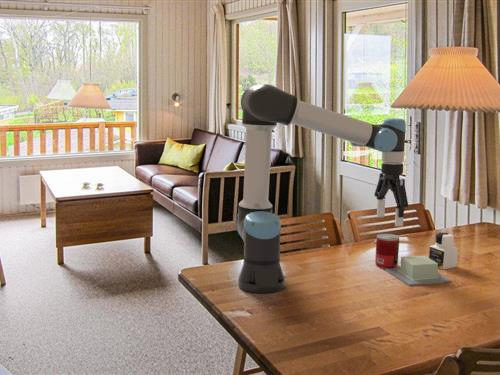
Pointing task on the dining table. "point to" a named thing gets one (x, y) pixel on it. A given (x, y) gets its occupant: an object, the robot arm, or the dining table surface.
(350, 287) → the dining table surface
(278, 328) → the dining table surface
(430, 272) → the block
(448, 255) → the medicine bottle
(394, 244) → the canned food
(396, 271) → the plate
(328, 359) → the dining table surface
